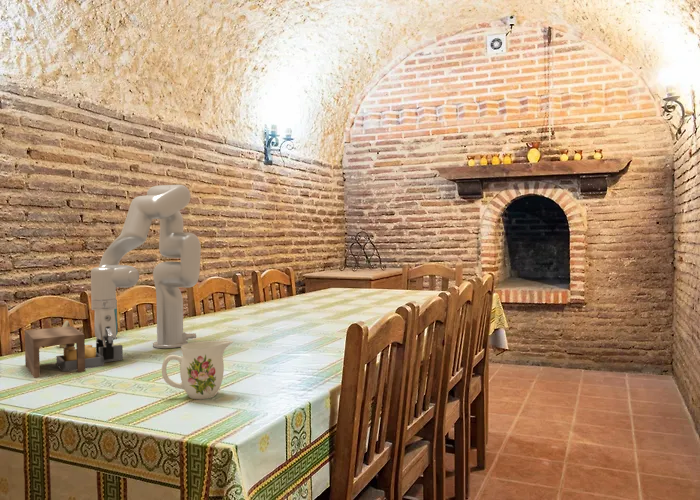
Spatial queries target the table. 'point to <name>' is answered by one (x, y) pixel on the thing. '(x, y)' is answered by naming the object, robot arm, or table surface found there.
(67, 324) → the chocolate bunny
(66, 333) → the brown wooden footstool
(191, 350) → the pitcher
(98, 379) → the table surface
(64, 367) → the tray
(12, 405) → the table surface
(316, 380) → the table surface
